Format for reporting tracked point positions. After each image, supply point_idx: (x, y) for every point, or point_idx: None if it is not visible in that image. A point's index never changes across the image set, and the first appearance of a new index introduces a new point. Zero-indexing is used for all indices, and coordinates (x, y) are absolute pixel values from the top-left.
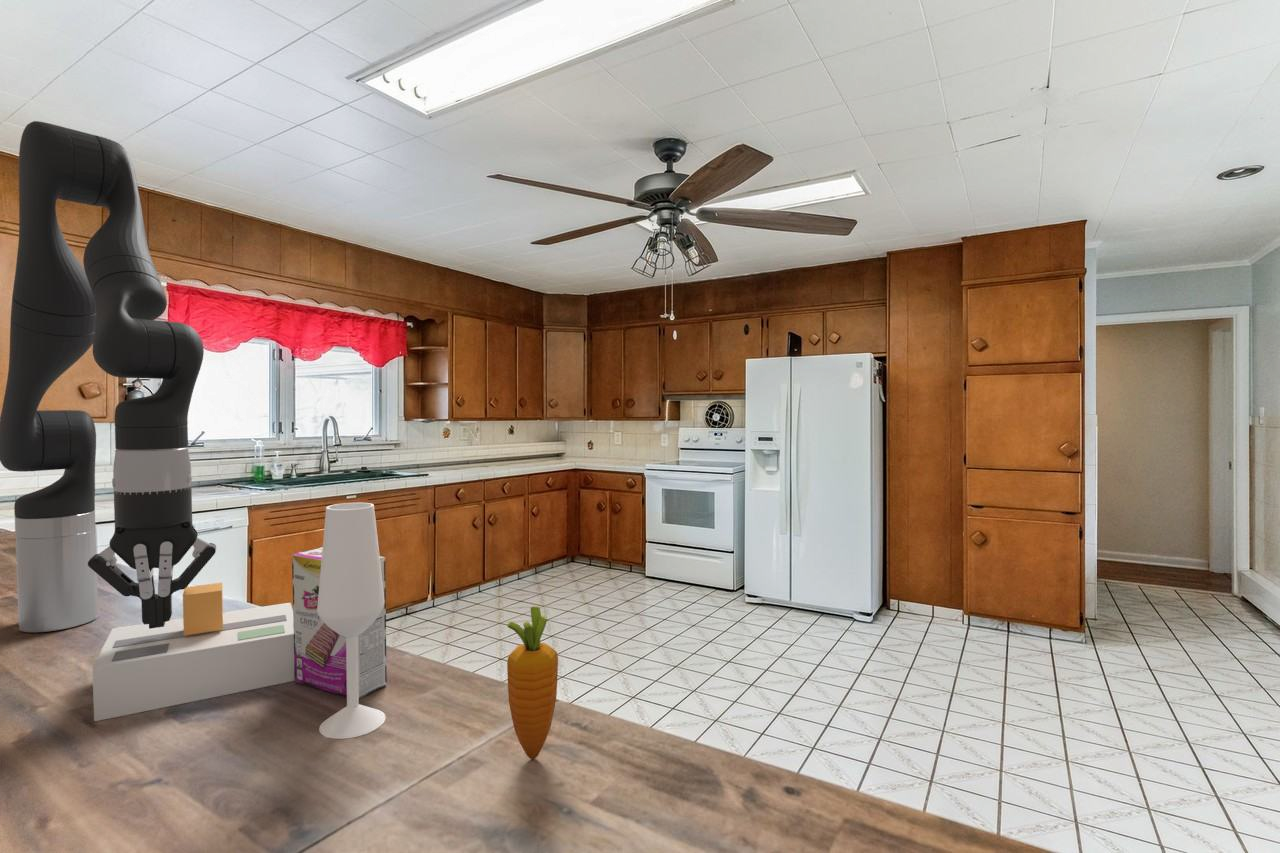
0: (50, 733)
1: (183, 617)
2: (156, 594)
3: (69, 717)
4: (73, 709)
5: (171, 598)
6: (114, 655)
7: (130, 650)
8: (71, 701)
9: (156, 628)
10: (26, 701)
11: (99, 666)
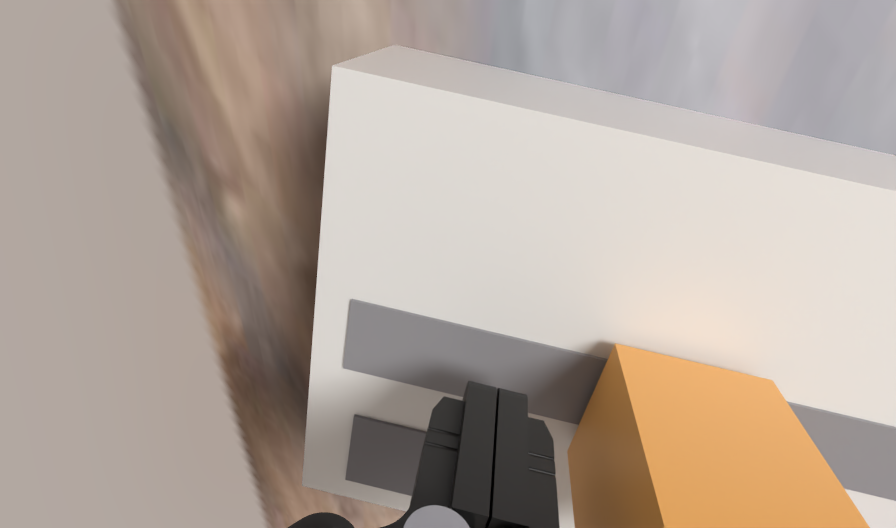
0: (279, 366)
1: (574, 524)
2: (481, 524)
3: (303, 312)
4: (306, 269)
5: (556, 519)
6: (351, 445)
7: (395, 435)
8: (294, 208)
9: (513, 233)
10: (180, 113)
11: (318, 487)
